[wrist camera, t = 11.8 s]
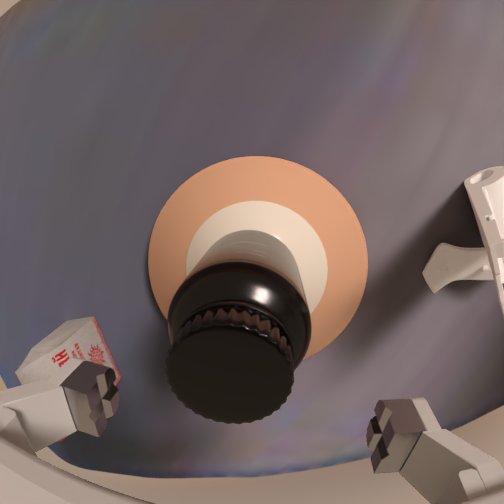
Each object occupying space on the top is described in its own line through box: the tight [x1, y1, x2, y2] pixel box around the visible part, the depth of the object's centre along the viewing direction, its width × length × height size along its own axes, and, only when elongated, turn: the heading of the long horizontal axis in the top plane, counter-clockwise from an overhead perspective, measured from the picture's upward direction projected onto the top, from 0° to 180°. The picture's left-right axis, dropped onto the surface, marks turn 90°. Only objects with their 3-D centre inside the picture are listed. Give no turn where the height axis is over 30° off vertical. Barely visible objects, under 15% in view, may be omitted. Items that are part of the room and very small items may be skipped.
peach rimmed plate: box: [148, 156, 368, 359], centre depth 23 cm, size 16×16×2 cm
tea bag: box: [15, 316, 121, 442], centre depth 22 cm, size 4×7×10 cm, turn 14°
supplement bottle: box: [165, 230, 312, 424], centre depth 17 cm, size 7×7×12 cm
